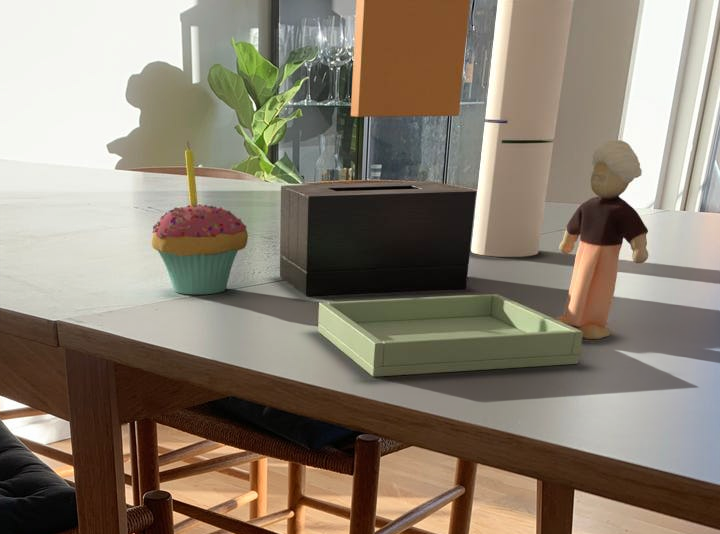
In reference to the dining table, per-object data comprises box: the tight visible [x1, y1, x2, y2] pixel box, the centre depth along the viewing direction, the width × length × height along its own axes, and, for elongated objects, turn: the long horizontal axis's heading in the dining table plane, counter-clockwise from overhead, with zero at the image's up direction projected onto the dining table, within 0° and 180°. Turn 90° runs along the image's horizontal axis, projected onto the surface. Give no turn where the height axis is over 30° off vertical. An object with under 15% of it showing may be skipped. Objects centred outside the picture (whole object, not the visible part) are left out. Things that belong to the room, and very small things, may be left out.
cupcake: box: [151, 139, 249, 296], centre depth 83 cm, size 9×8×12 cm
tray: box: [317, 293, 583, 378], centre depth 66 cm, size 14×13×2 cm
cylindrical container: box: [470, 0, 575, 258], centre depth 97 cm, size 7×7×25 cm
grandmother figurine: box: [554, 139, 649, 340], centre depth 67 cm, size 8×4×13 cm, turn 40°
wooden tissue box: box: [279, 180, 477, 297], centre depth 87 cm, size 16×10×8 cm, turn 101°
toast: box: [350, 0, 471, 118], centre depth 69 cm, size 8×2×11 cm, turn 101°
